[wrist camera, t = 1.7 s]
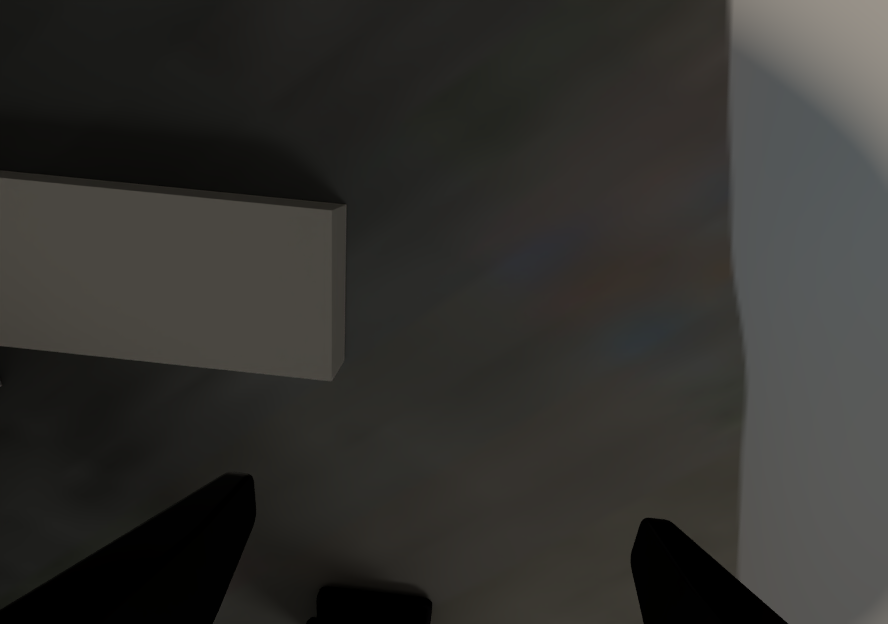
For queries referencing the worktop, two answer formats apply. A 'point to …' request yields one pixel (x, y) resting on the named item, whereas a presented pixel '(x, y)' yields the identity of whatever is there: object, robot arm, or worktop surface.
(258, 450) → the worktop surface
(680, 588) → the robot arm
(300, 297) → the thin gray tile
